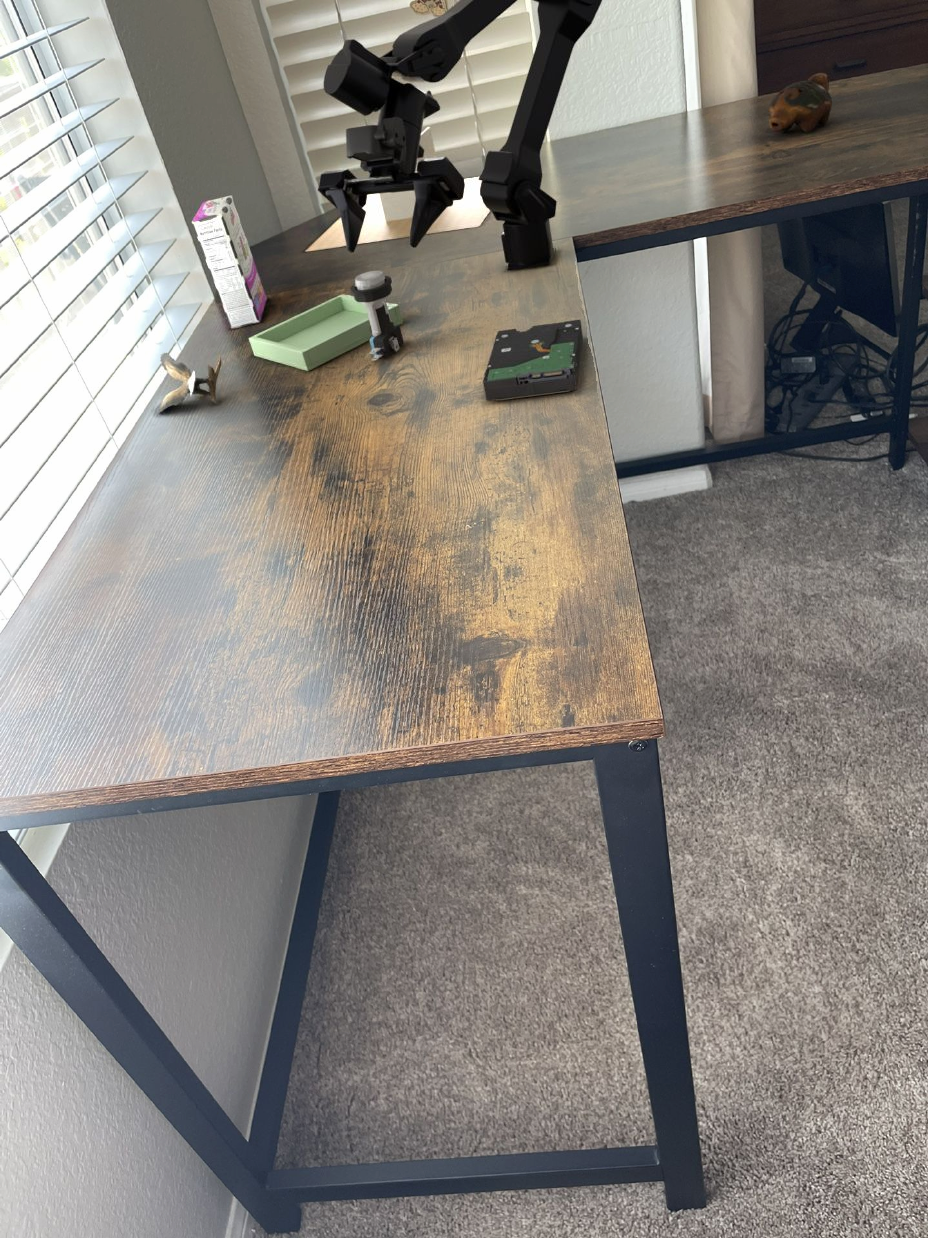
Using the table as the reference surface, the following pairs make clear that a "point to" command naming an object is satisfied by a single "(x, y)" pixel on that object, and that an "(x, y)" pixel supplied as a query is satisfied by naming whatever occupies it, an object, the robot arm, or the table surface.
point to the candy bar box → (230, 261)
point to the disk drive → (534, 361)
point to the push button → (378, 312)
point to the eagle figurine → (187, 382)
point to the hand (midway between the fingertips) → (380, 248)
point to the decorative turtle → (802, 105)
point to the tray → (318, 333)
